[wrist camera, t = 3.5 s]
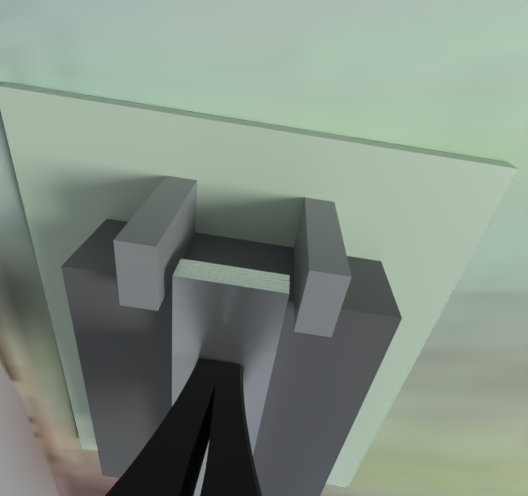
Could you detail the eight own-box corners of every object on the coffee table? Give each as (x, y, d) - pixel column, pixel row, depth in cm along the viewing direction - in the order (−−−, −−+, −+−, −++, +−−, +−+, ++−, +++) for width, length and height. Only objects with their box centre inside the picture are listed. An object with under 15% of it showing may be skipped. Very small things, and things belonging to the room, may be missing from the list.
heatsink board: (346, 476, 22) (359, 584, 18) (86, 438, 22) (37, 537, 18) (508, 162, 11) (634, 243, 7) (7, 82, 11) (-165, 117, 7)
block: (238, 510, 17) (236, 530, 17) (175, 501, 17) (171, 520, 16) (289, 275, 10) (289, 294, 9) (181, 258, 10) (172, 275, 9)
